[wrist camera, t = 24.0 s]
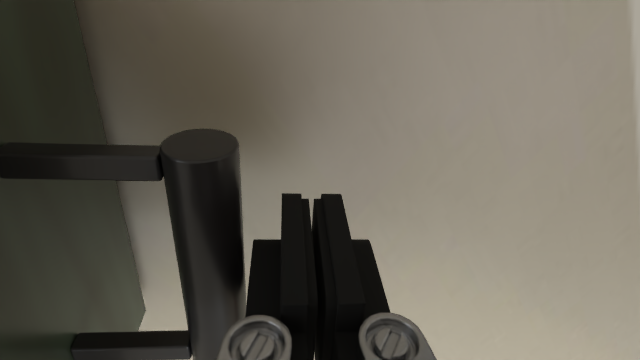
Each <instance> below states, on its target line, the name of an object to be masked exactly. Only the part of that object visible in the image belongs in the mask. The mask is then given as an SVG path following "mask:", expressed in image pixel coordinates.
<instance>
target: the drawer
mask: <svg viewBox="0 0 640 360" xmlns="http://www.w3.org/2000/svg"><path fill="white" fill-rule="evenodd" d="M163 177H164V181H165V187H166V193H167V199H168V206H169V212H170V218H171V224H172V231H173V237H174V243H175V249H176V256H177V262H178V268H179V274H180V281H181V287H182V293H183V300H184V306H185V312H186V318H187V325H188V330H186V331H138V329H139V327H140V324H141V322H142V319H143V316H144V314H145V311H146V309H145V305H144V300H143V296H142V292H141V287H140V283H139V279H138V275H137V270H136V266H135V262H134V257H133V253H132V249H131V245H130V240H129V236H128V232H127V227H126V223H125V219H124V215H123V210H122V206H121V202H120V197H119V193H118V189H117V185H116V181H161V180H162V178H163ZM245 315H246V286H245V264H244V242H243V220H242V198H241V176H240V154H239V142H238V140H237V139H236V138H235V137H234V136H233V135H231V134H230V133H227V132H224V131H220V130H215V129H193V130H186V131H182V132H178V133H176V134H173V135H171V136H169V137H167V138H166V139H165V140H163V142H162V143H161V145H160V146H146V145H107V142H106V137H105V133H104V129H103V125H102V120H101V116H100V112H99V107H98V103H97V99H96V95H95V90H94V86H93V82H92V77H91V73H90V69H89V65H88V60H87V56H86V52H85V47H84V43H83V39H82V35H81V30H80V26H79V22H78V17H77V13H76V9H75V5H74V0H0V360H184V359H190V358H191V356H193V360H215V359H216V357H217V354H218V351H219V348H220V345H221V342H222V339H223V337H224V335H225V333H226V331H227V330H228V329H229V328H230V327H231V326H232V325H233V324H234V323H235V322H237V321H239V320H241V319H242V318H245Z"/></svg>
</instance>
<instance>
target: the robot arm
mask: <svg viewBox="0 0 640 360" xmlns="http://www.w3.org/2000/svg"><path fill="white" fill-rule="evenodd" d="M314 352H315V360H437V359H436V357H435V356H434V354H433V352H432V350H431V348H430V346H429V344H428V342H427V340H426V339H425V337H424V335H423V333H422V332H421V330H420V329H419V328H418V326H417V325H415V324H414V323H413V322H412V321H411V320H409V319H407V318H405V317H403V316H401V315H398V314H394V313H390V310H389V306H388V303H387V299H386V296H385V292H384V289H383V285H382V282H381V278H380V275H379V271H378V267H377V264H376V260H375V257H374V253H373V250H372V246H371V244H370V241H369V240H351V236H350V231H349V227H348V222H347V218H346V213H345V209H344V204H343V200H342V196H341V194H322V195H321V199H314V206H313V221H312V229H311V219H310V208H309V199H301V194H283V193H282V222H281V240H254V241H253V248H252V257H251V267H250V276H249V286H248V296H247V305H246V315H245V318H242V319H241V320H239V321H237V322H235V323H234V324H233V325H232V326H231V327H230V328H229V329H228V330H227V331H226V333H225V335H224V337H223V339H222V342H221V345H220V348H219V351H218V354H217V357H216V359H215V360H314Z"/></svg>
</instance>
